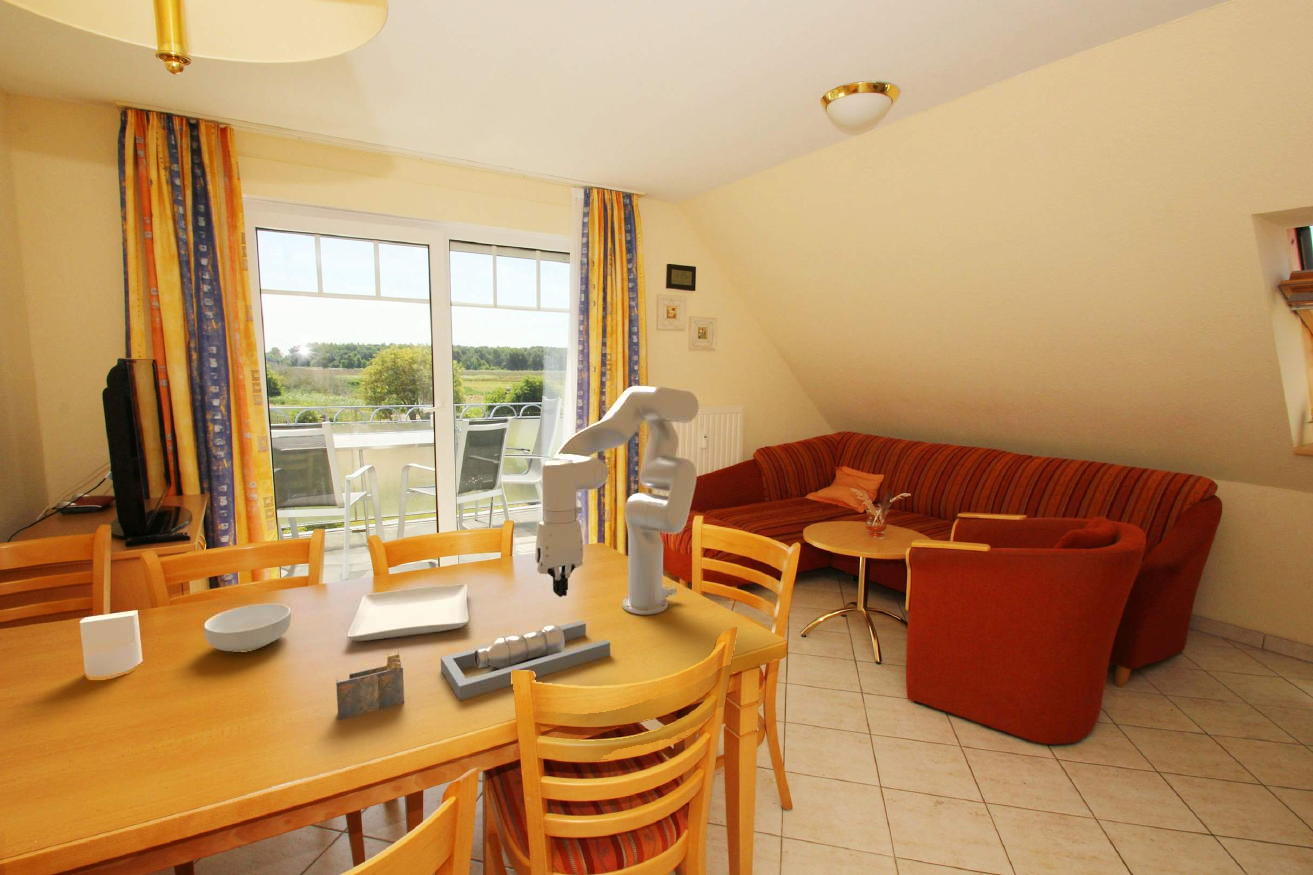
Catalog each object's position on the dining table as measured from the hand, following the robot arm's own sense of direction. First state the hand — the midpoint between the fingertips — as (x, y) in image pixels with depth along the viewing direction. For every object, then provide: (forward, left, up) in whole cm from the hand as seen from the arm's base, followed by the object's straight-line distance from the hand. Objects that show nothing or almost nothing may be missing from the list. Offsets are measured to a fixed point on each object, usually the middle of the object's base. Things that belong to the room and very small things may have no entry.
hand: (560, 594), depth 134 cm
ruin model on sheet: (+40, 0, -15) cm, 42 cm away
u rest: (+7, 0, -14) cm, 16 cm away
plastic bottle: (-1, -2, -11) cm, 11 cm away
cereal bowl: (+59, -43, -14) cm, 74 cm away
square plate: (+24, -38, -15) cm, 47 cm away
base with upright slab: (+83, -45, -14) cm, 96 cm away
